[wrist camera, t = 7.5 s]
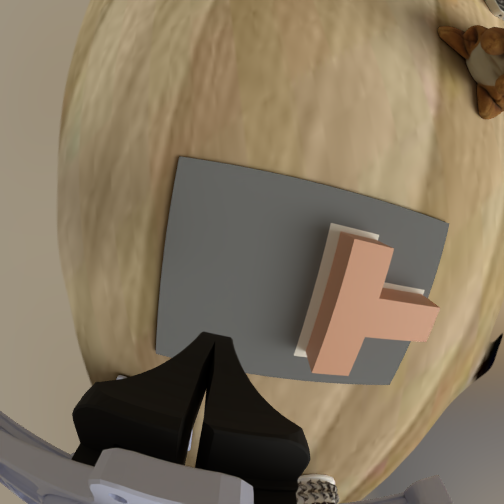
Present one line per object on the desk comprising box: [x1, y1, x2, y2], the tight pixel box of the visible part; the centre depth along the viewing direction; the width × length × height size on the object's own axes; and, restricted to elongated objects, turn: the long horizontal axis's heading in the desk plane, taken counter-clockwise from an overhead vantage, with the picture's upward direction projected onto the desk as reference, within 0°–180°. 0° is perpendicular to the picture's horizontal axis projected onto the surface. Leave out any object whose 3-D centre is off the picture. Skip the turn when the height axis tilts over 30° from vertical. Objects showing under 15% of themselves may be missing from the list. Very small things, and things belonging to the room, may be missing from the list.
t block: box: [306, 231, 440, 376], centre depth 19 cm, size 10×9×3 cm
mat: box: [156, 156, 449, 385], centre depth 21 cm, size 16×22×1 cm
